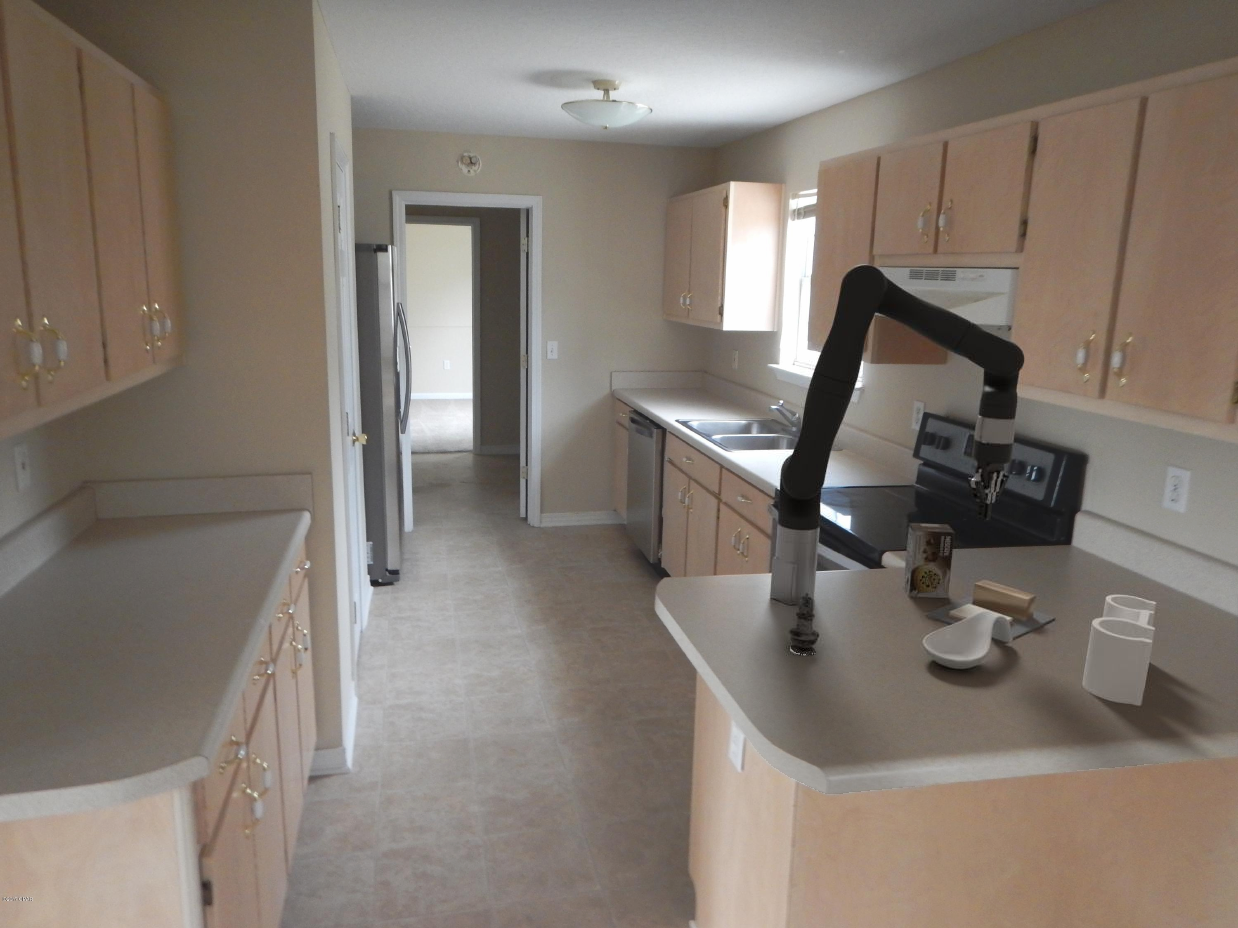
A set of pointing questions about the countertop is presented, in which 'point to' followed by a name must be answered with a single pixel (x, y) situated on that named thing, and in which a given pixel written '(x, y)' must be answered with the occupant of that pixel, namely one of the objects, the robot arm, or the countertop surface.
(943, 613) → the mat
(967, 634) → the spoon rest
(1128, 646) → the bracket
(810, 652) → the chess piece
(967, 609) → the tile
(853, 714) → the countertop surface
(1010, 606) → the block
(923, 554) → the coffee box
